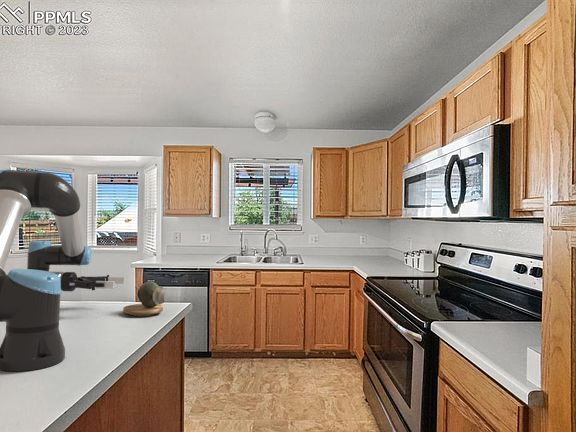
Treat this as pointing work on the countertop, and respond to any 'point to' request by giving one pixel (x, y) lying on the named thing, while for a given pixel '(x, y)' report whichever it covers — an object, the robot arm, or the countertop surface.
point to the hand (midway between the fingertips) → (119, 282)
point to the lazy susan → (142, 309)
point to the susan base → (143, 315)
